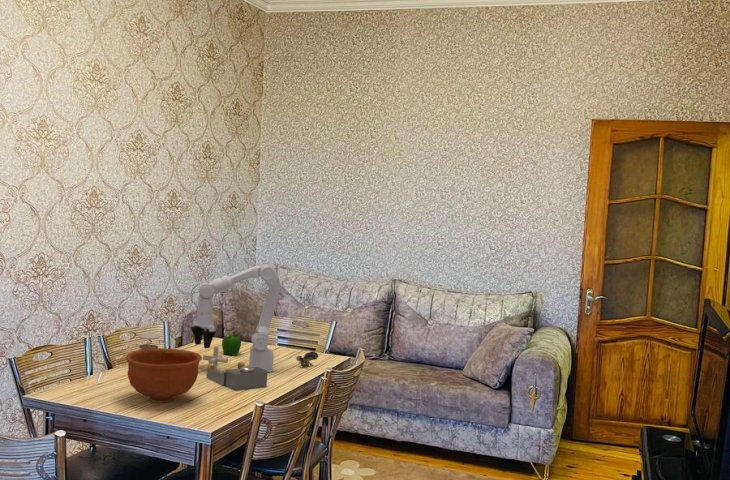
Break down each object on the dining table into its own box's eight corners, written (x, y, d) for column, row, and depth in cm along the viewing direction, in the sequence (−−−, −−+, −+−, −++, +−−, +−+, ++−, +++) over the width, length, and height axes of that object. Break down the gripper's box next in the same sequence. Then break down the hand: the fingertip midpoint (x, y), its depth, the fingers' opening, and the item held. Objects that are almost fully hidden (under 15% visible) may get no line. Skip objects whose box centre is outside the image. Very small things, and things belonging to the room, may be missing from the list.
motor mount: (240, 374, 285) (241, 356, 285) (267, 386, 270) (269, 368, 269) (206, 377, 276) (207, 359, 275) (232, 390, 260) (234, 371, 260)
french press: (134, 367, 282) (138, 305, 281) (164, 368, 285) (168, 306, 284) (134, 373, 272) (138, 309, 271) (165, 374, 276) (169, 310, 275)
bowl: (210, 395, 252) (213, 353, 251) (176, 413, 227) (180, 367, 227) (147, 386, 257) (150, 345, 256) (107, 403, 233) (110, 357, 232)
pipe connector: (221, 375, 280) (223, 350, 280) (197, 372, 282) (199, 347, 282) (231, 370, 290) (232, 346, 290) (208, 367, 292) (209, 343, 292)
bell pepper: (243, 353, 323) (244, 332, 323) (235, 357, 315) (237, 334, 315) (226, 351, 325) (227, 330, 325) (218, 354, 317) (220, 332, 317)
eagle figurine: (312, 367, 302) (322, 360, 311) (304, 352, 303) (314, 345, 311) (299, 374, 306) (309, 366, 314) (291, 359, 306) (301, 352, 314)
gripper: (187, 310, 289) (184, 343, 290) (204, 316, 279) (201, 350, 279) (202, 309, 294) (200, 342, 295) (220, 315, 283) (217, 349, 284)
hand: (202, 346), depth 287 cm, fingers open, 7 cm apart
